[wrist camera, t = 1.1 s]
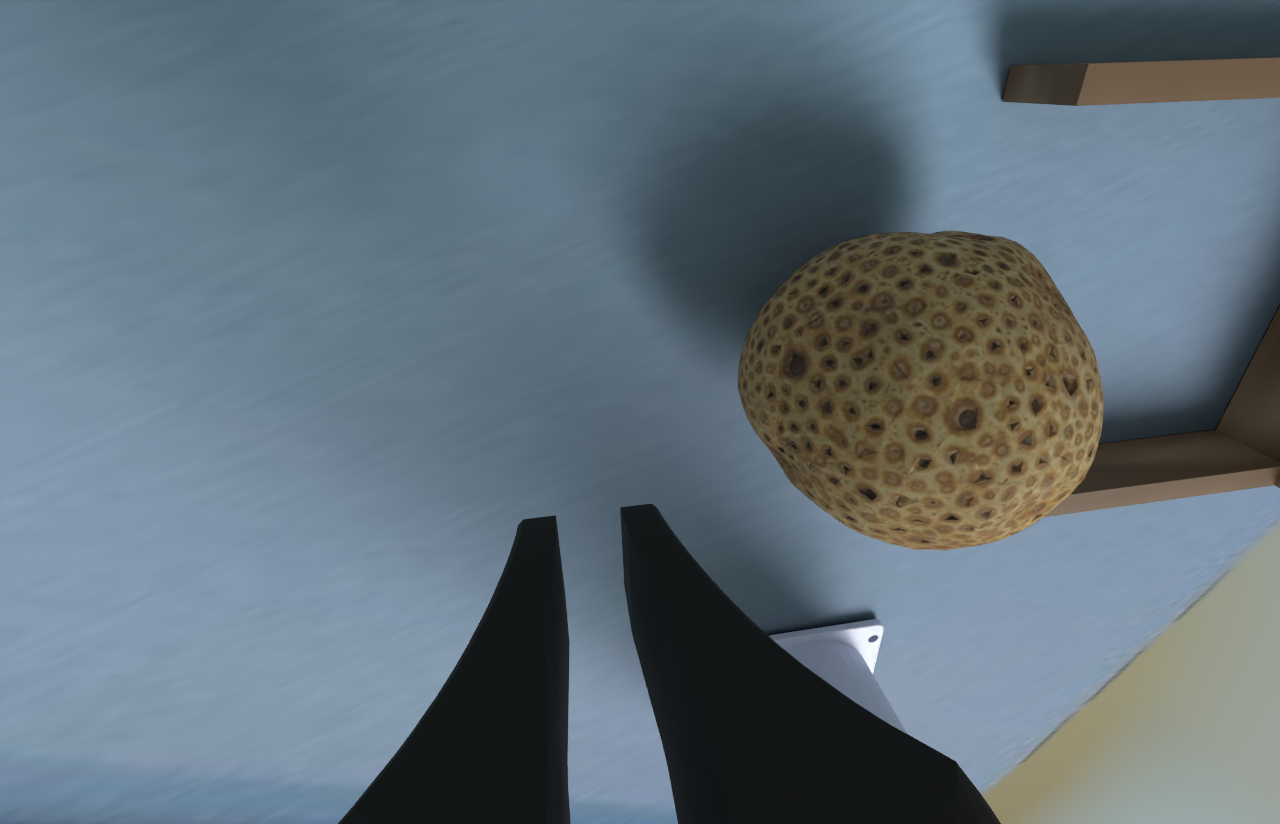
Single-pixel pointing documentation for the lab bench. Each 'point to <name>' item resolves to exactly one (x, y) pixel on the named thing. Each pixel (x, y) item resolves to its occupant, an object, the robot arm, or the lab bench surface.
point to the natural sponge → (925, 387)
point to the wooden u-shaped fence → (1276, 378)
